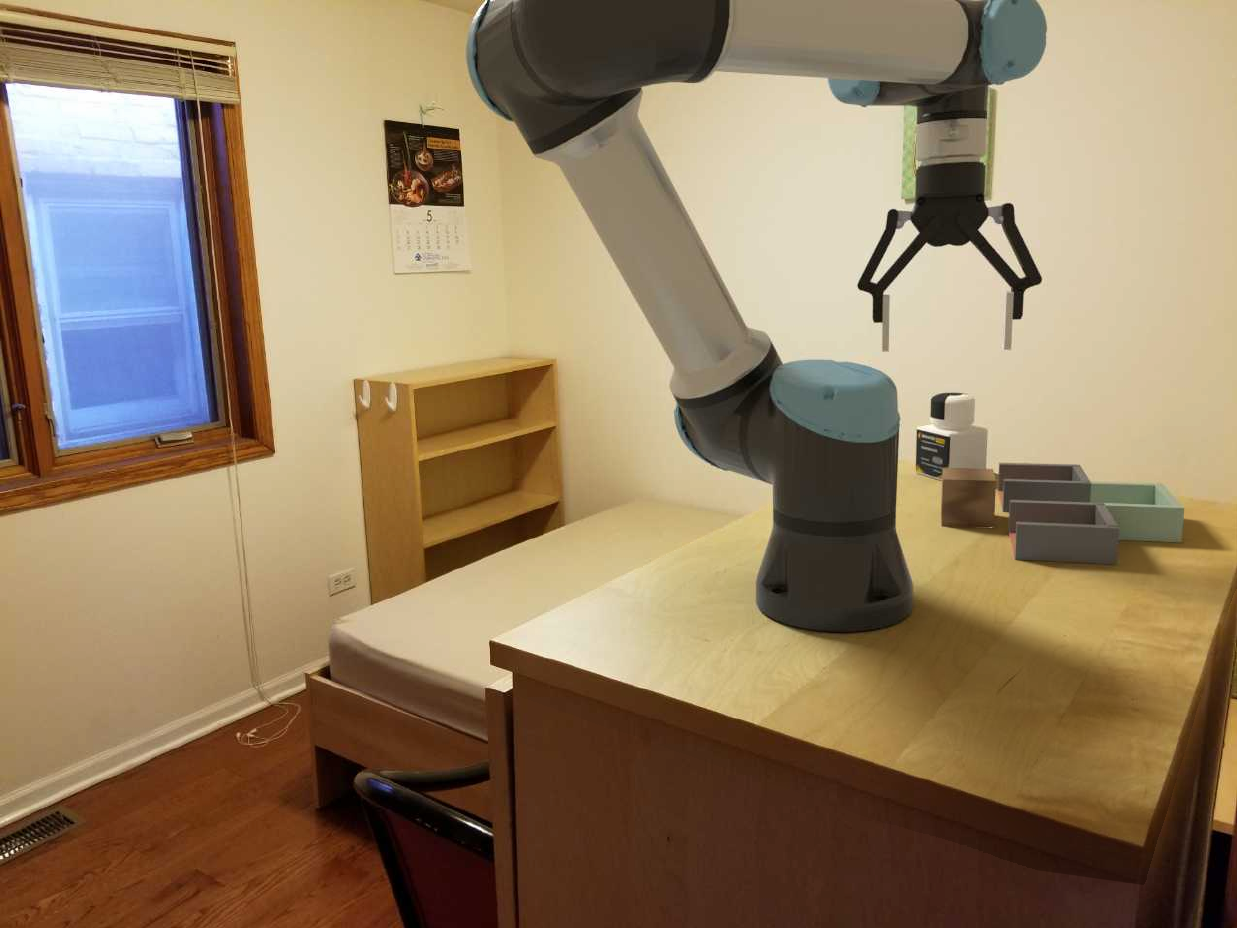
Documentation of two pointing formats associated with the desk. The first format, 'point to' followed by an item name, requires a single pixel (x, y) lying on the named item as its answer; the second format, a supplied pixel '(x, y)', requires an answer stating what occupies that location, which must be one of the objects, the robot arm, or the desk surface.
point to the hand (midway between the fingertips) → (944, 349)
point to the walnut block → (968, 497)
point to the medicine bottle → (950, 437)
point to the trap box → (1081, 513)
